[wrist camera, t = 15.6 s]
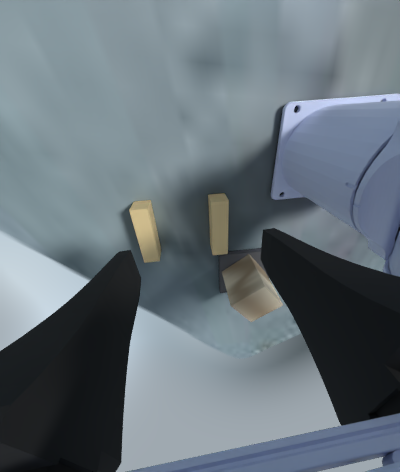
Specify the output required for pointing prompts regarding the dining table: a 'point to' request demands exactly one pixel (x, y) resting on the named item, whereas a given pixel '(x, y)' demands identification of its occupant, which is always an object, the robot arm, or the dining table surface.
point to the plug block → (250, 289)
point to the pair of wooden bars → (149, 235)
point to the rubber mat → (232, 258)
